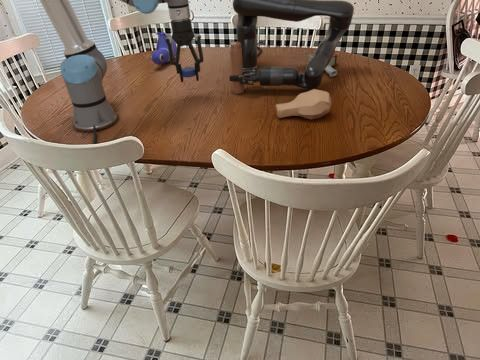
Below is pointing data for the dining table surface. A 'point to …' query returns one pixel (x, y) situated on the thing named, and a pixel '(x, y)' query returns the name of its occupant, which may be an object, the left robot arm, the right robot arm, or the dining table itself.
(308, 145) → the dining table surface
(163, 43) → the toy
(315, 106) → the squash
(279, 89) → the dining table surface
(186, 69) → the lid
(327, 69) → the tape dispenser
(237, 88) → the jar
